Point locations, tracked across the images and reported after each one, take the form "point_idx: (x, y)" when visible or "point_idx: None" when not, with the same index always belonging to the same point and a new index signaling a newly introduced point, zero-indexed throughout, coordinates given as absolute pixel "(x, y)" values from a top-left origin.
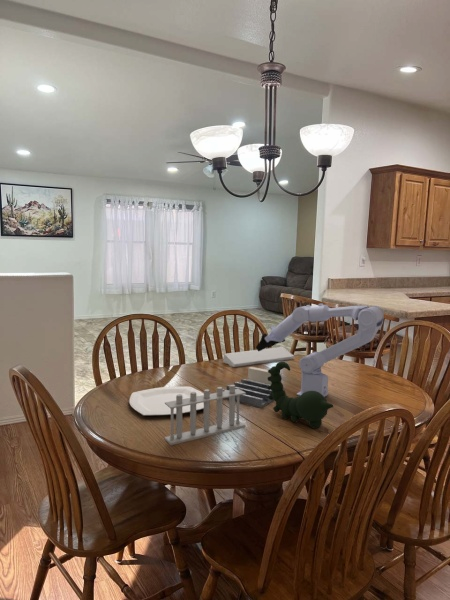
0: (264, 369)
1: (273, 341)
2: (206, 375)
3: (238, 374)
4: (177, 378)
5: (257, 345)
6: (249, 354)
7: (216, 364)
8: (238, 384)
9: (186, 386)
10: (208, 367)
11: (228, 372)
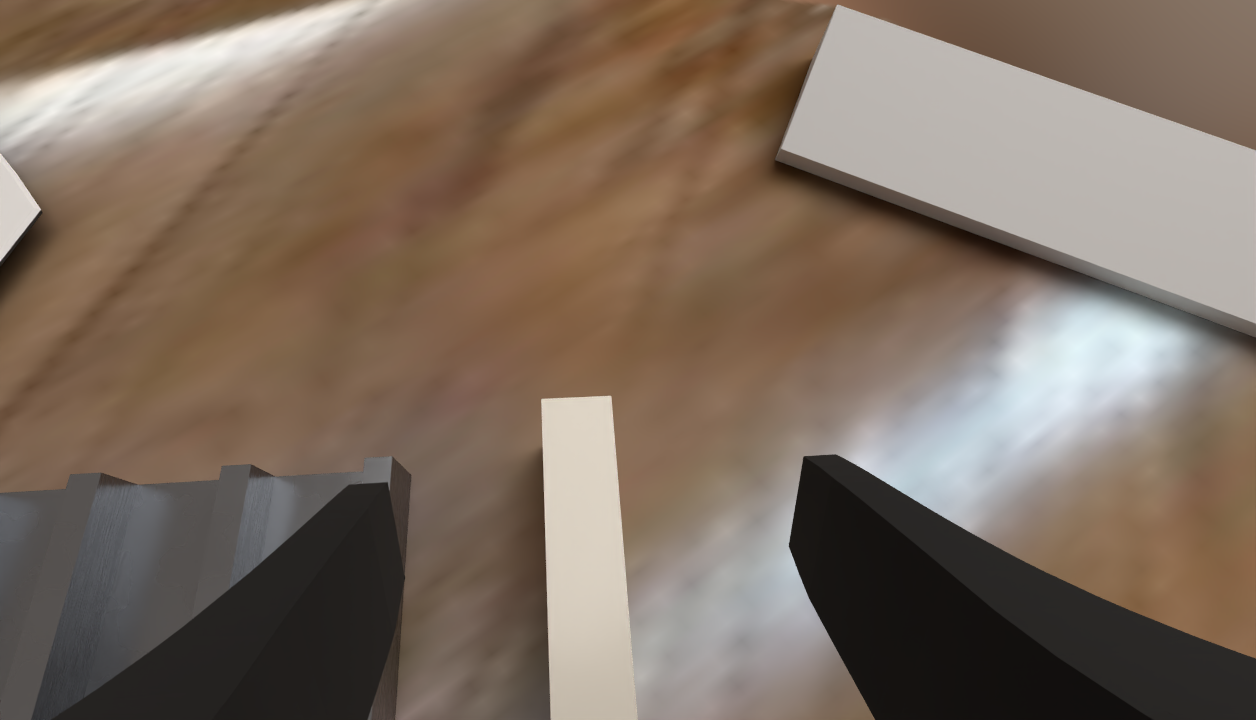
0: (619, 582)
1: (920, 694)
2: (475, 129)
3: (661, 276)
4: (293, 39)
5: (308, 532)
6: (1019, 123)
7: (736, 55)
8: (218, 524)
9: (21, 190)
10: (641, 53)
11: (647, 198)
